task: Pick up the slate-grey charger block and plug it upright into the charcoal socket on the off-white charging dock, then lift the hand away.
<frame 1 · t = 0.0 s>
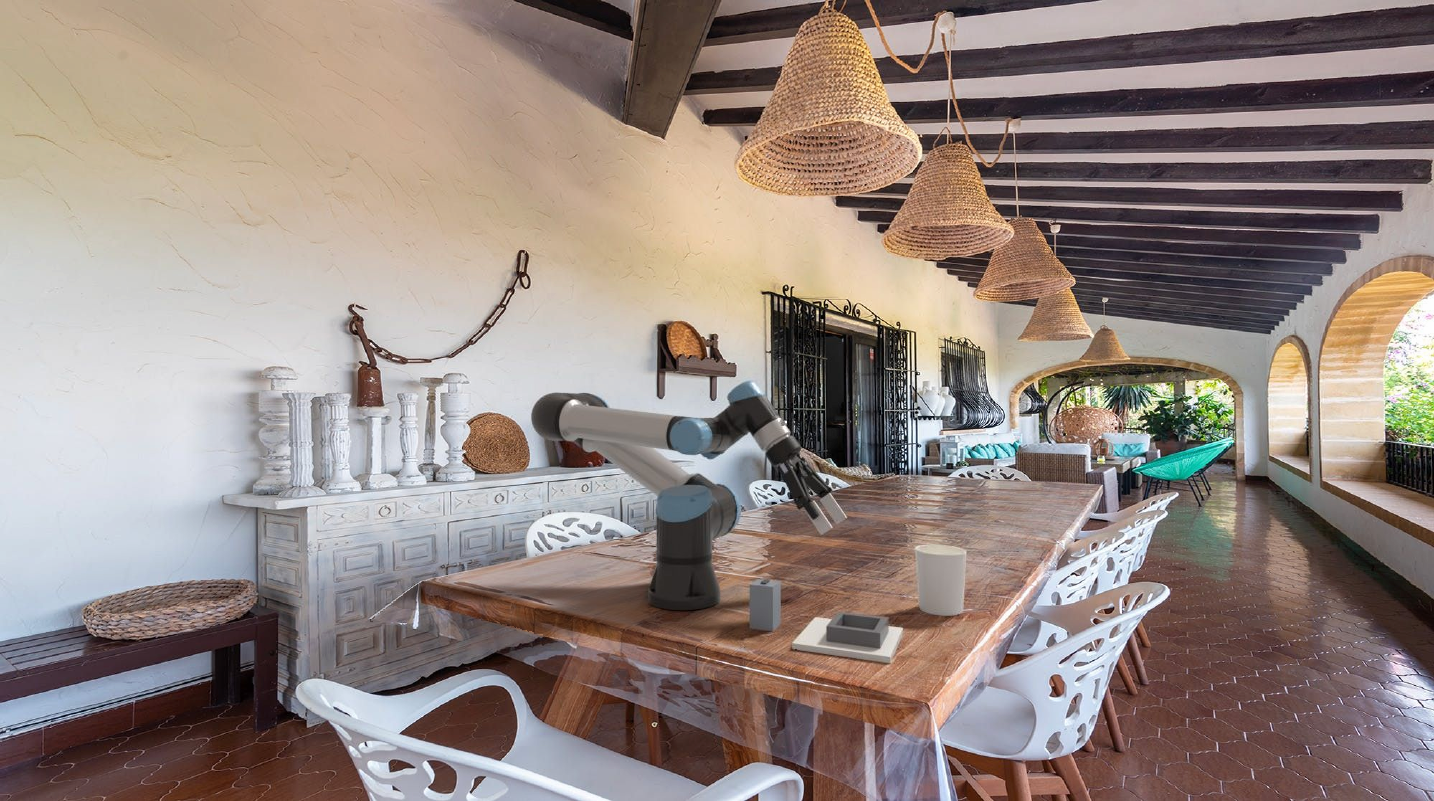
hand: (834, 526, 140), 15 cm above the table, tool tilted 35°, fingers open, 13 cm apart
charger: (765, 626, 122), on the table
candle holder: (940, 610, 132), on the table
charging dock: (849, 641, 114), on the table
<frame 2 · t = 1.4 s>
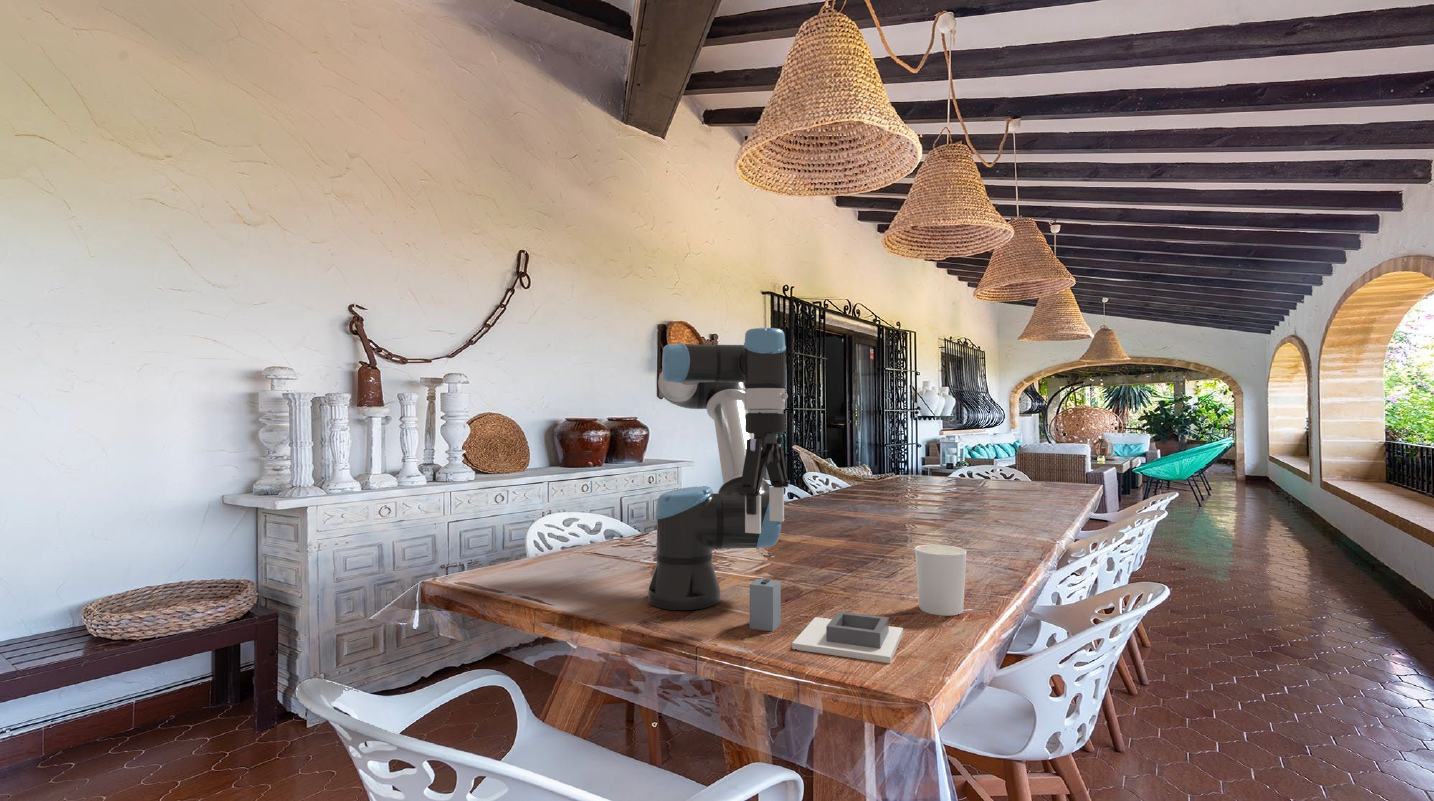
hand: (765, 526, 122), 18 cm above the table, tool pointing down, fingers open, 13 cm apart
nothing on the table moved.
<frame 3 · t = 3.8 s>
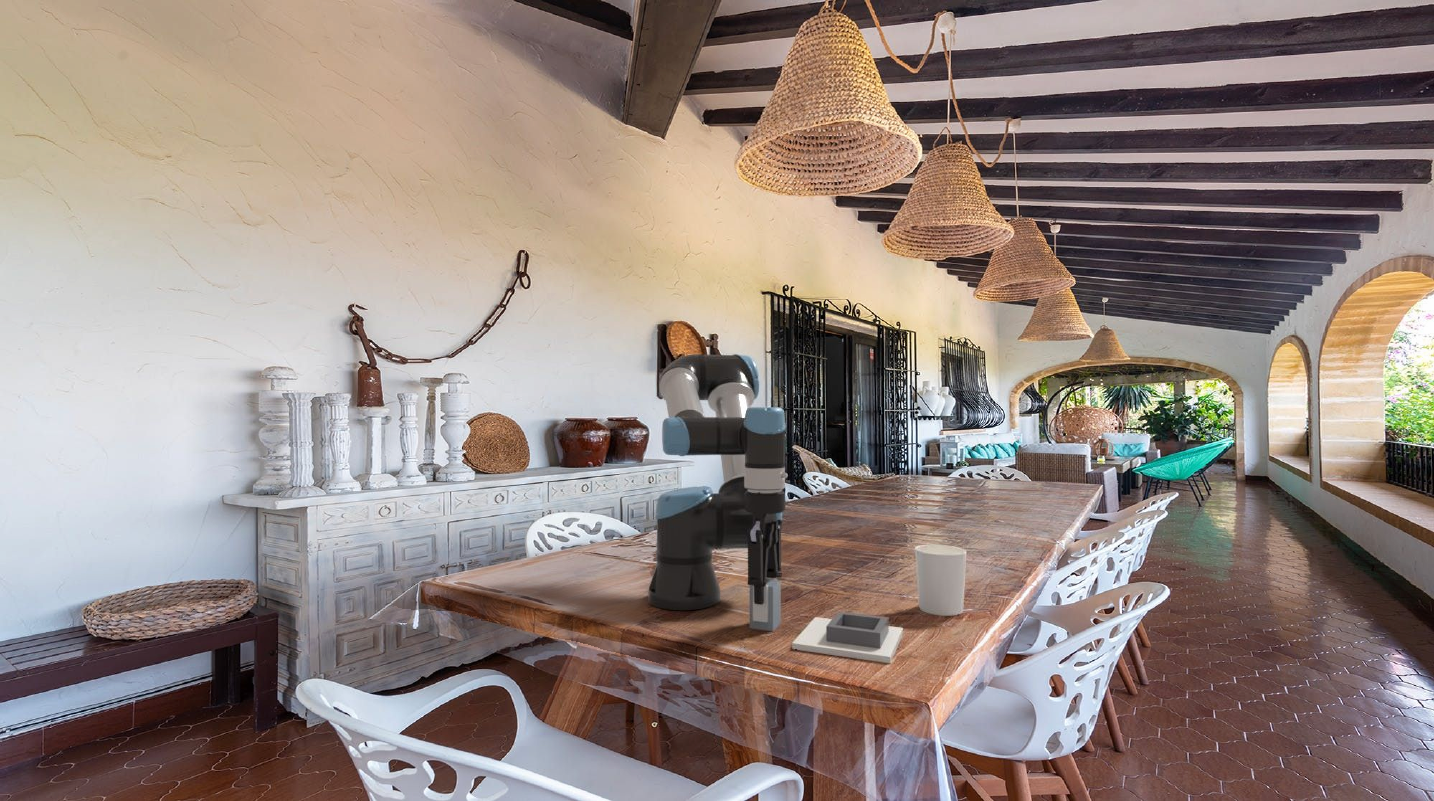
hand: (765, 616, 122), 2 cm above the table, tool pointing down, fingers closed on charger, 4 cm apart
charger: (765, 626, 122), on the table, touching gripper
everything else where it was.
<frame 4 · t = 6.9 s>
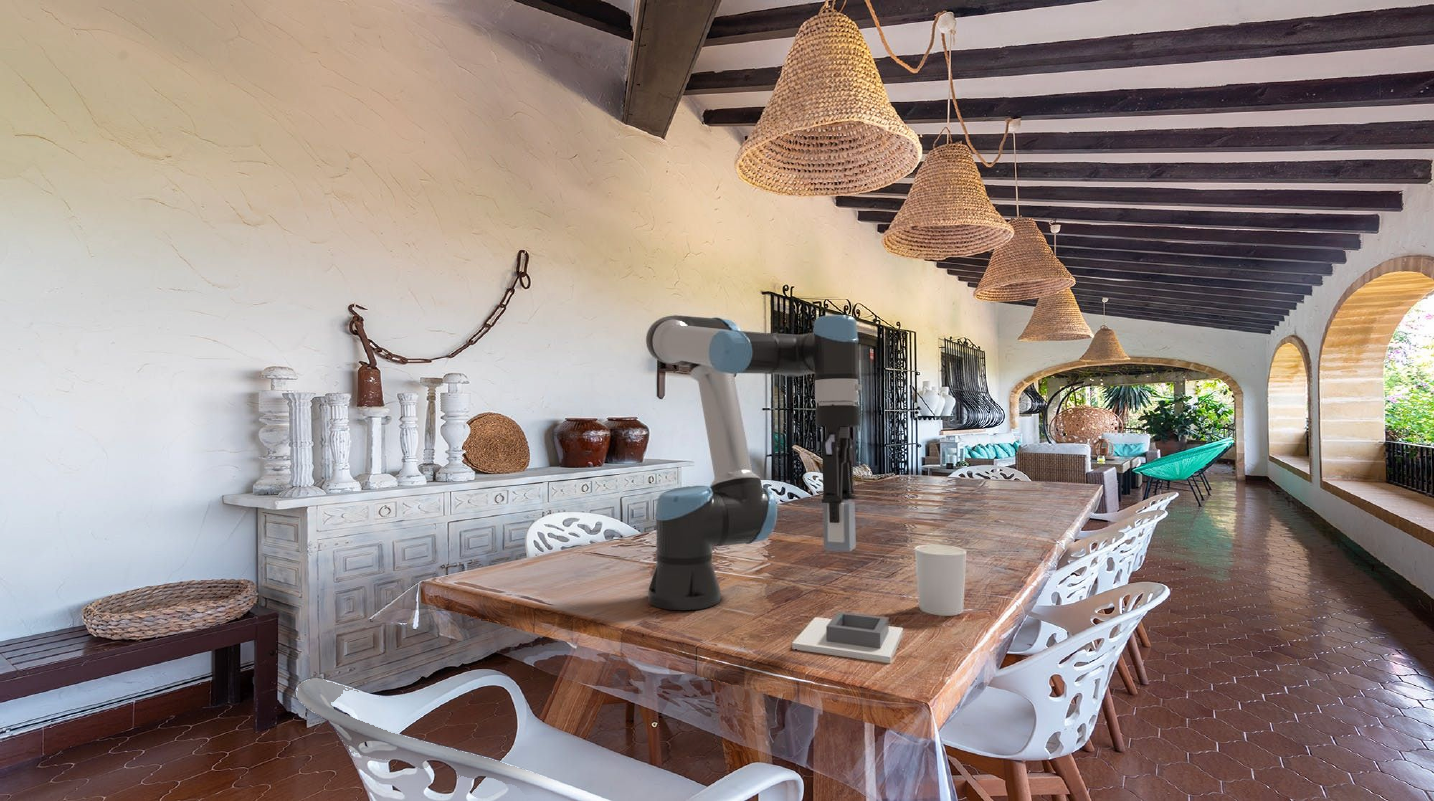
hand: (839, 538, 115), 18 cm above the table, tool pointing down, fingers closed on charger, 4 cm apart
charger: (839, 548, 114), point 16 cm above the table, touching gripper
everything else where it was.
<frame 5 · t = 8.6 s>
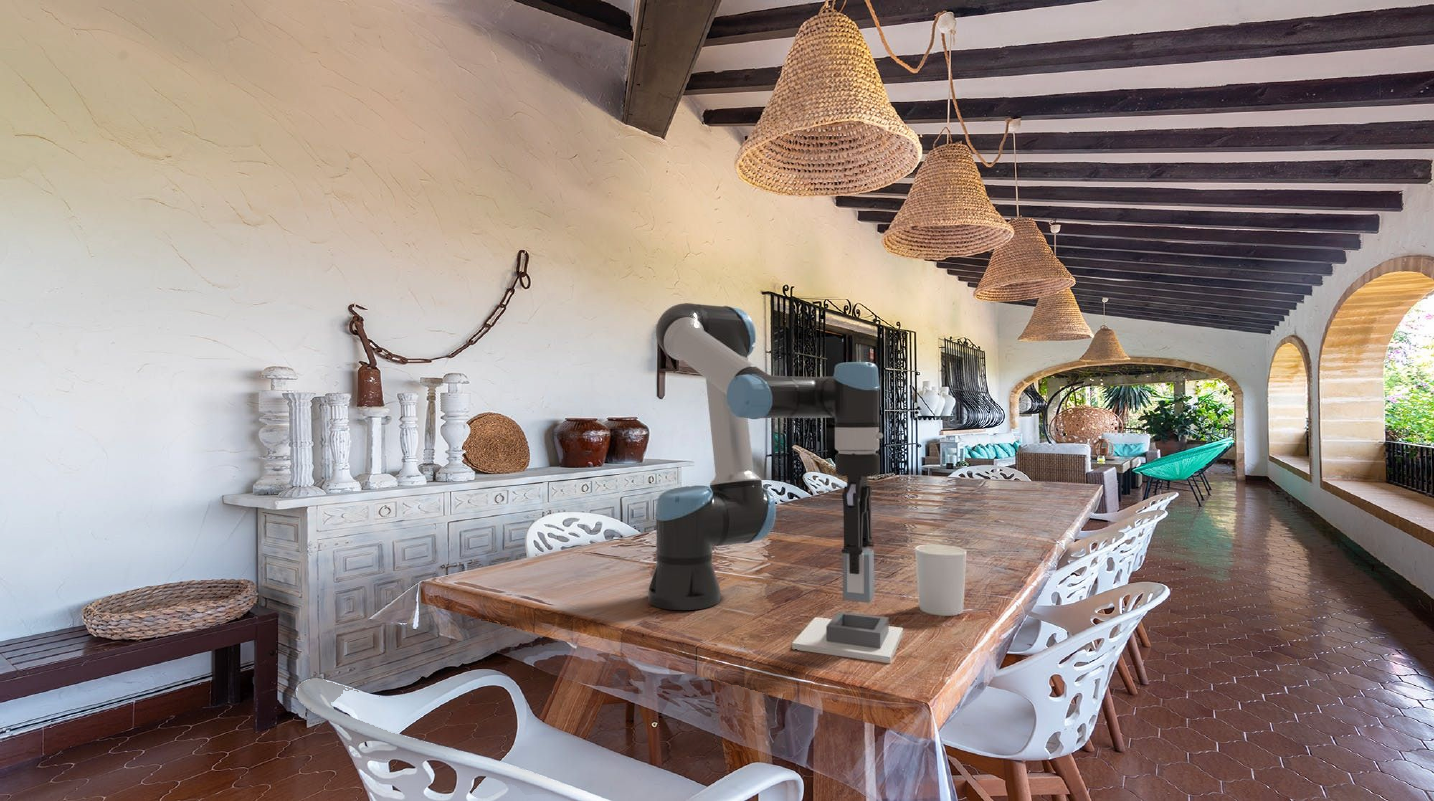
hand: (858, 588, 113), 9 cm above the table, tool pointing down, fingers closed on charger, 4 cm apart
charger: (858, 598, 113), point 8 cm above the table, touching gripper
everything else where it was.
when the fingers open (5 cm above the table, at t = 10.0 s): charger drops 2 cm, resting on charging dock.
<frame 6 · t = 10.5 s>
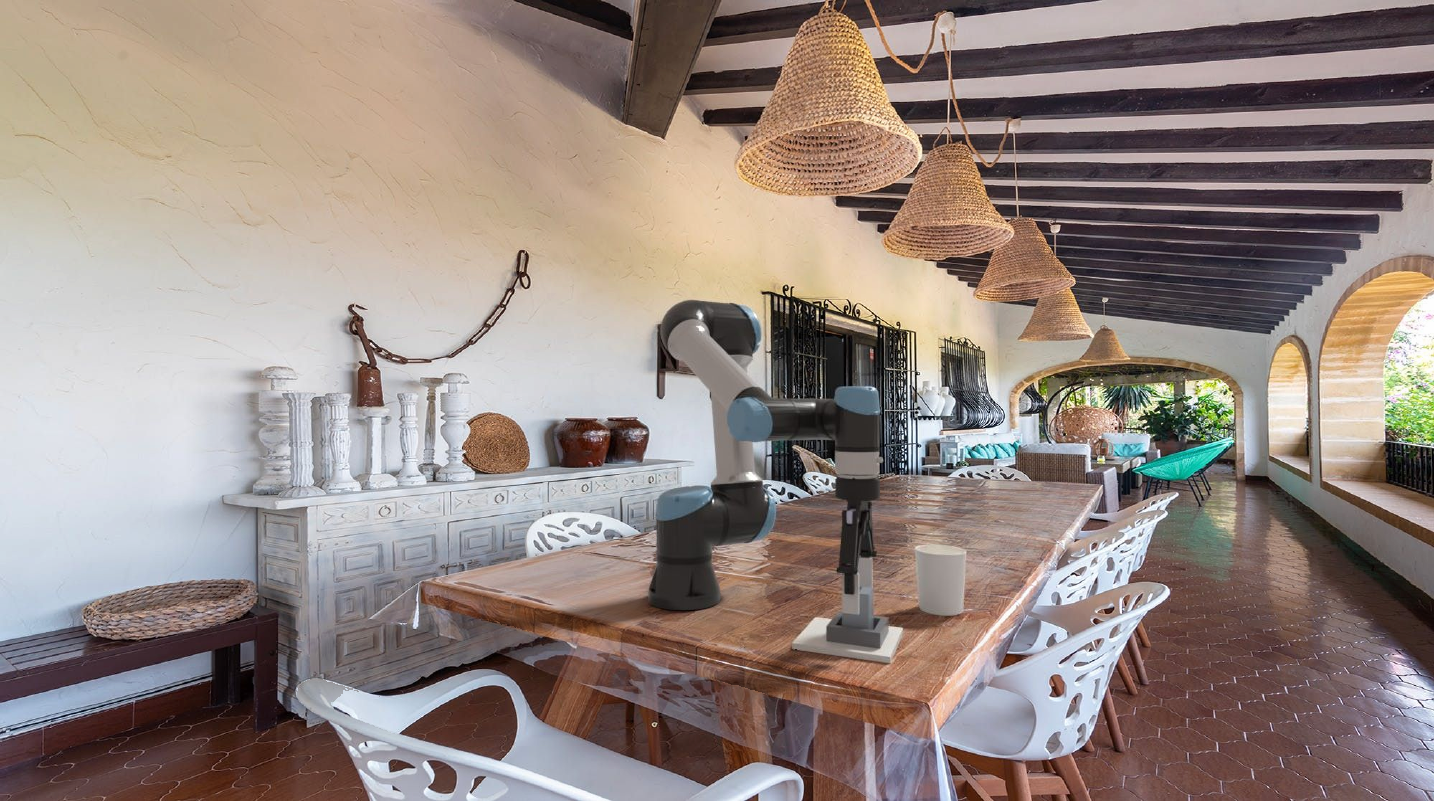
hand: (858, 603, 113), 7 cm above the table, tool pointing down, fingers open, 11 cm apart
charger: (857, 636, 113), point 1 cm above the table, touching charging dock
everything else where it was.
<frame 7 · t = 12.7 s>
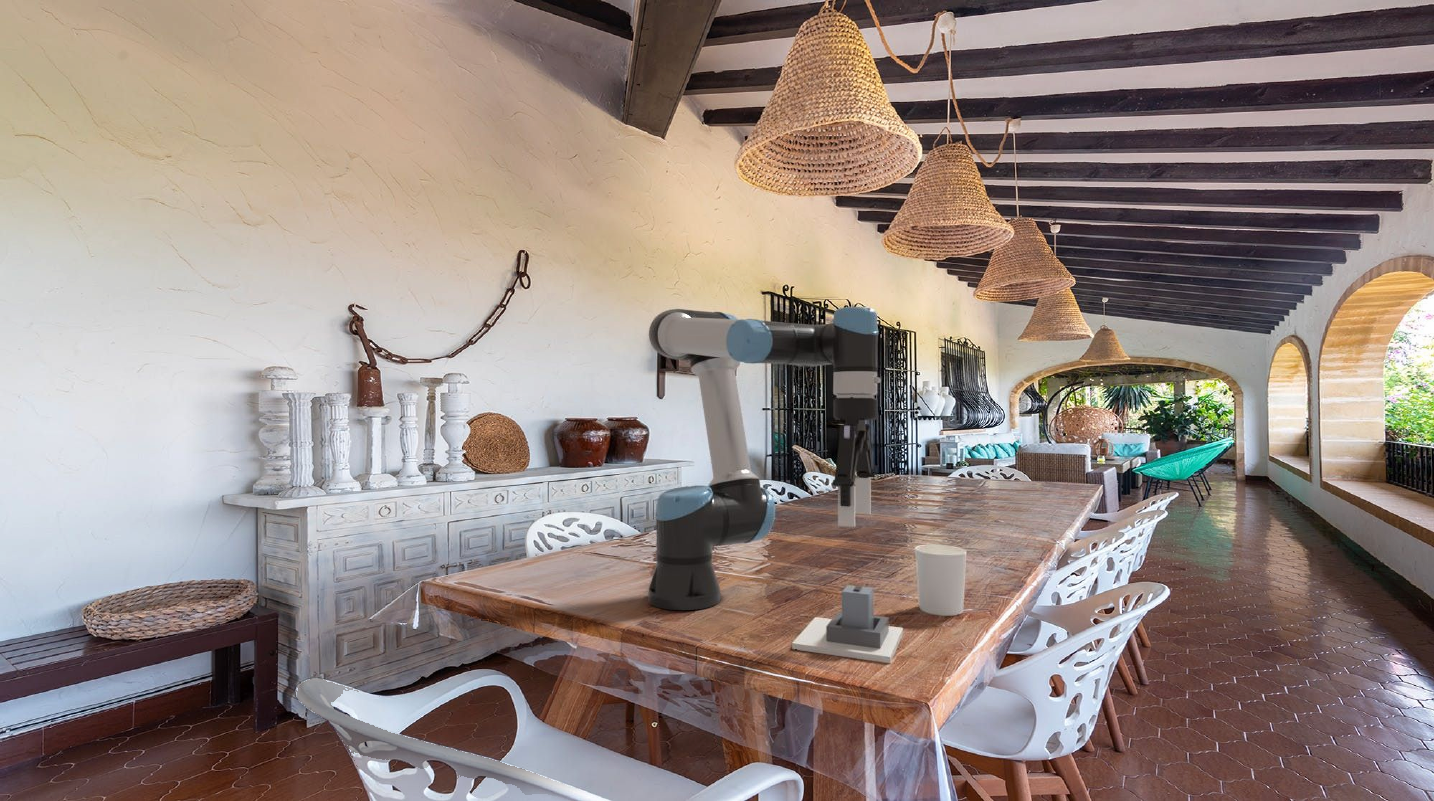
hand: (855, 519, 115), 21 cm above the table, tool pointing down, fingers open, 13 cm apart
nothing on the table moved.
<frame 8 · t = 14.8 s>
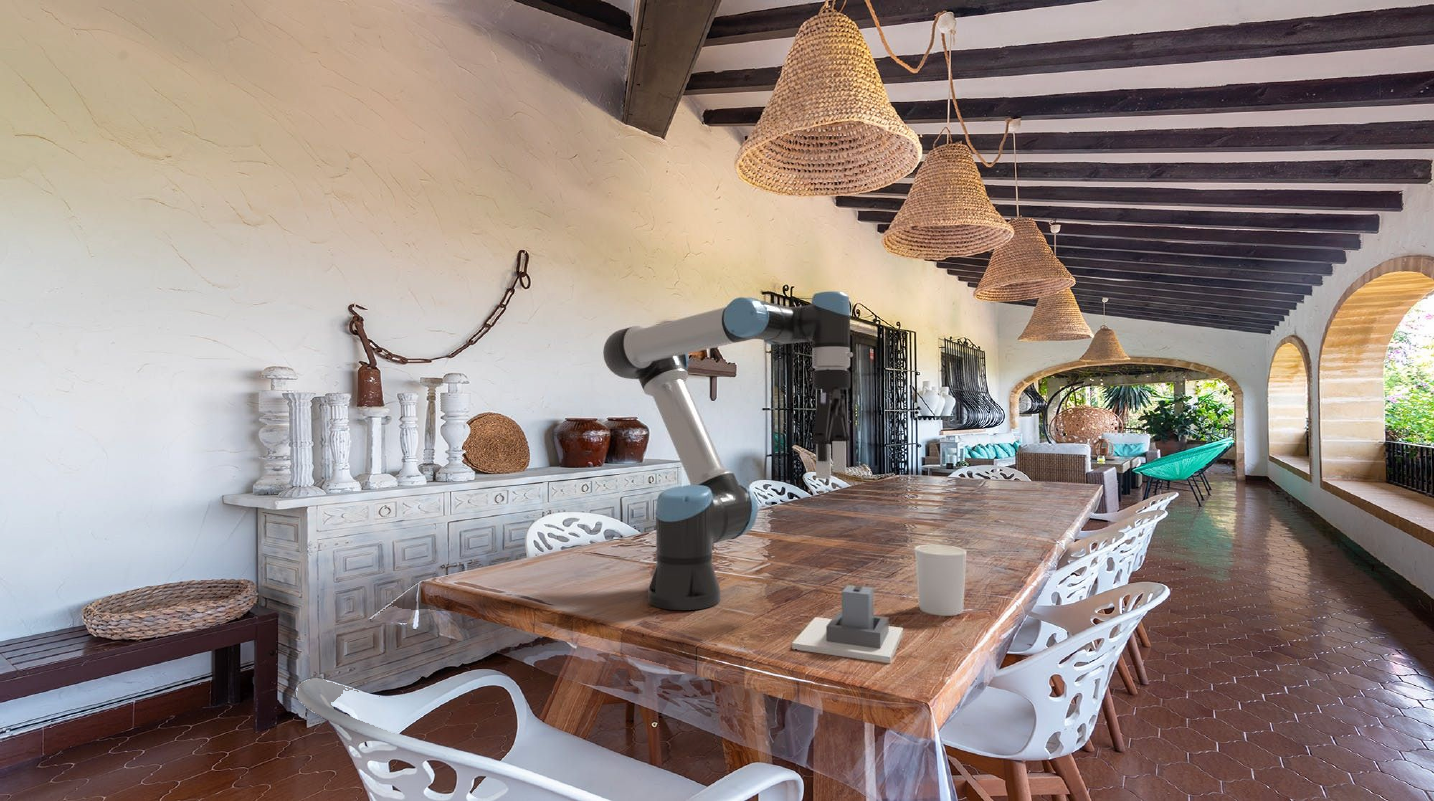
hand: (831, 475, 133), 27 cm above the table, tool pointing down, fingers open, 13 cm apart
nothing on the table moved.
at the end: charger 0.1 cm from the target spot on the charging dock, point 1.0 cm above the charging dock's base; charger tilted 0°; the gripper is holding nothing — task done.
